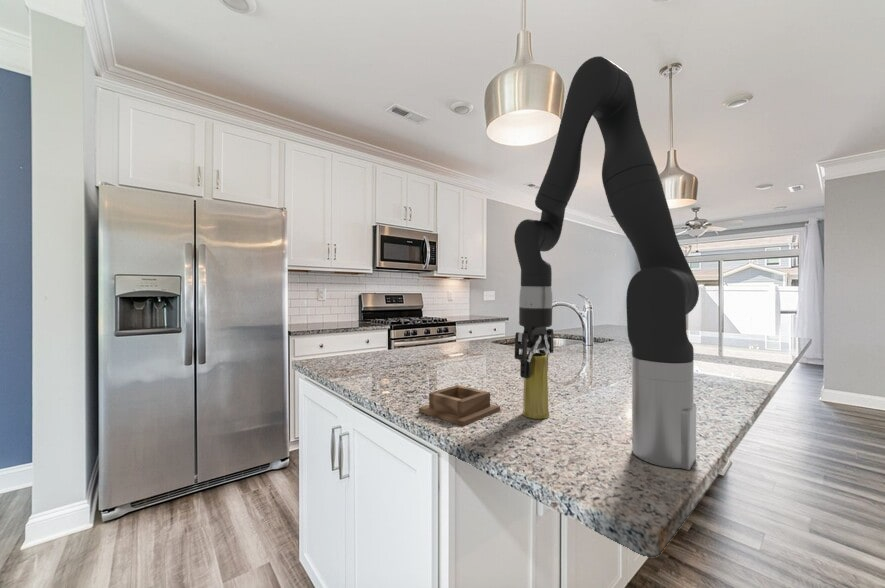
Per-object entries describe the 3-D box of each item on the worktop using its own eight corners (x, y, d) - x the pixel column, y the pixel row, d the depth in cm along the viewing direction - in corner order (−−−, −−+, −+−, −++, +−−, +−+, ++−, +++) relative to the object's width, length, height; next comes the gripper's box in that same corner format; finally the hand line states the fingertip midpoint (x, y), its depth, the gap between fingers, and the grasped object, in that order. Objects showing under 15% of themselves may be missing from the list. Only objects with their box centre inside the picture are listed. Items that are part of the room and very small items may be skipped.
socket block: (500, 410, 90) (500, 392, 90) (463, 426, 79) (463, 405, 79) (456, 399, 99) (456, 382, 99) (418, 411, 89) (418, 393, 89)
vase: (546, 411, 89) (546, 352, 89) (551, 419, 83) (551, 356, 83) (521, 410, 90) (521, 352, 90) (524, 419, 84) (524, 356, 84)
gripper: (535, 307, 79) (534, 383, 79) (564, 305, 89) (563, 372, 89) (505, 306, 84) (504, 377, 84) (535, 304, 94) (535, 367, 94)
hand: (534, 374), depth 87 cm, fingers open, 8 cm apart
